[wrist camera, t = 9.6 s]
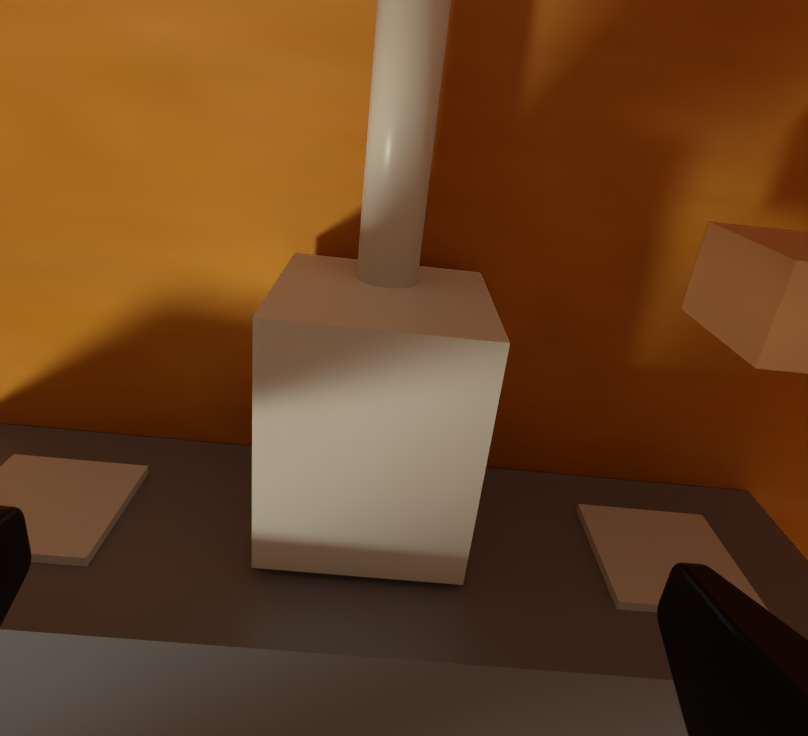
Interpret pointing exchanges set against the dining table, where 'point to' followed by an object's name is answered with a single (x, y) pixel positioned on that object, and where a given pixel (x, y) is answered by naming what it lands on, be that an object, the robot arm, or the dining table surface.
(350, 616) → the grey block
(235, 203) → the dining table surface
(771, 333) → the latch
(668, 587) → the robot arm
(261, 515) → the plug
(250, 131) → the dining table surface
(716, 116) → the dining table surface
